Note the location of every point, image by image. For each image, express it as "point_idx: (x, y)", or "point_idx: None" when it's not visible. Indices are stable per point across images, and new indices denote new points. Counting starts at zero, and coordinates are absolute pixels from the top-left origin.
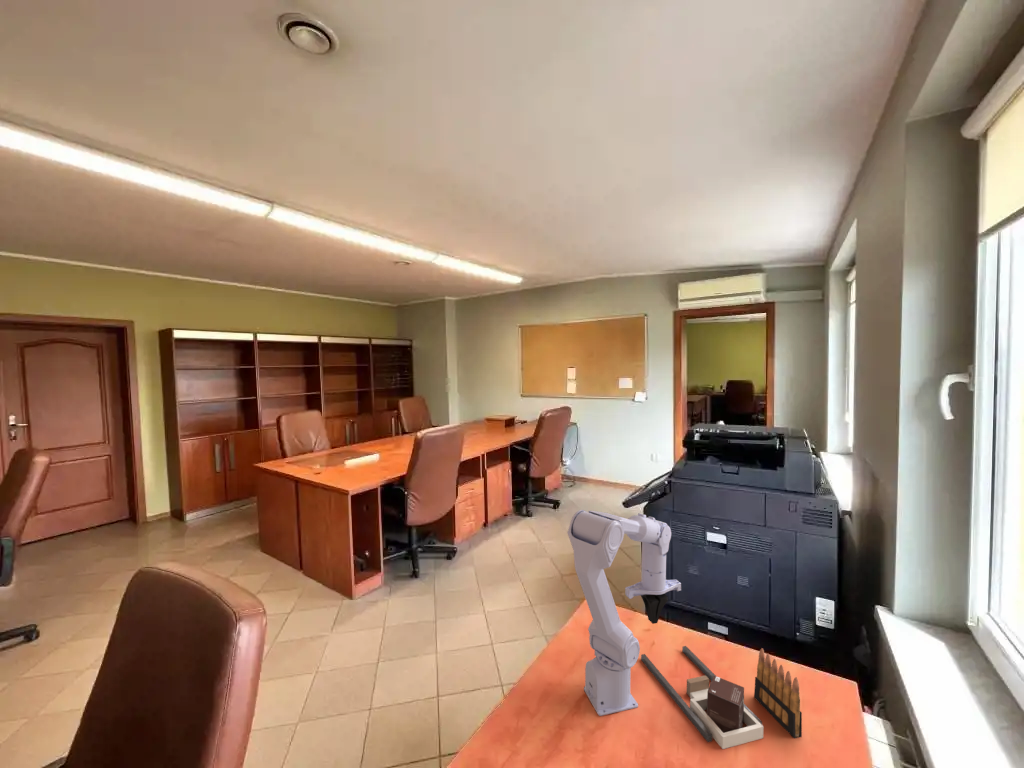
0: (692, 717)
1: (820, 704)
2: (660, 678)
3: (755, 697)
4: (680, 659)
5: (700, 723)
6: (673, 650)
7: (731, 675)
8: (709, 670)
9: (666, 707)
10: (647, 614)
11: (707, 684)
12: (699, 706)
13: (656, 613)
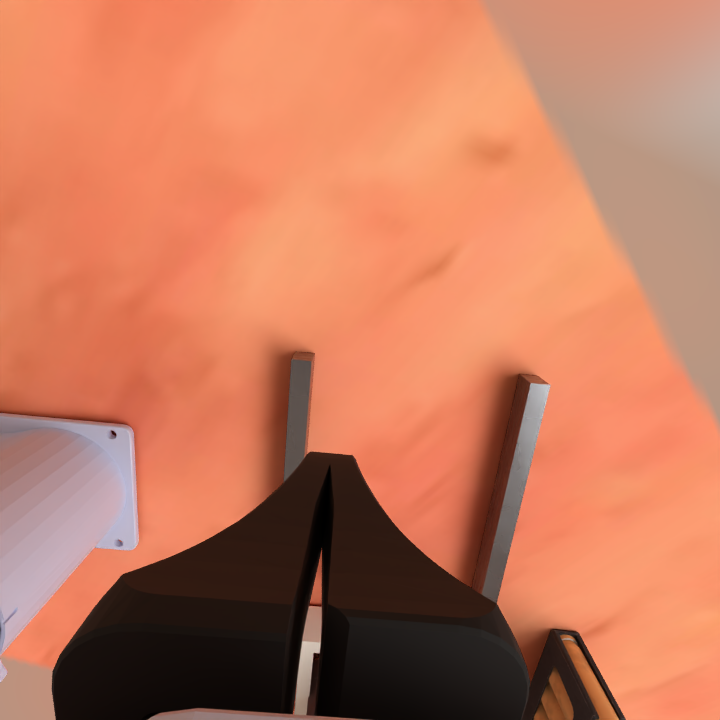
0: None
1: (710, 699)
2: None
3: (552, 640)
4: (472, 407)
5: None
6: (490, 349)
7: (583, 539)
8: (508, 536)
9: None
10: (298, 466)
11: None
12: (308, 670)
13: (322, 597)
